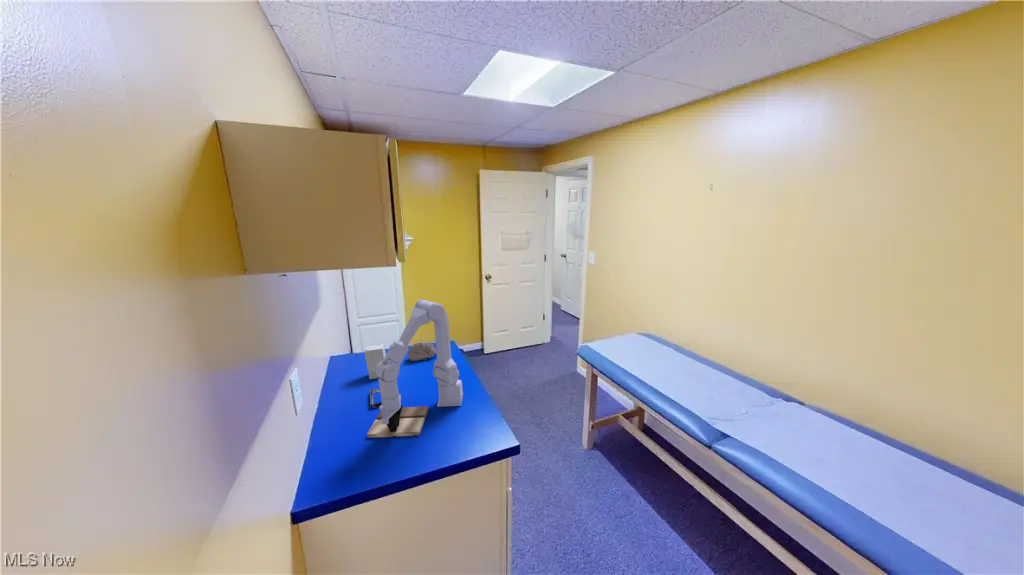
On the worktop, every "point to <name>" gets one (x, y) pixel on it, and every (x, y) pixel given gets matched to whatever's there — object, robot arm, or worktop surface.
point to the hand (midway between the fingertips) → (394, 428)
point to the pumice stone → (421, 351)
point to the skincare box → (374, 358)
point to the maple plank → (405, 428)
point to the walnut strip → (410, 412)
